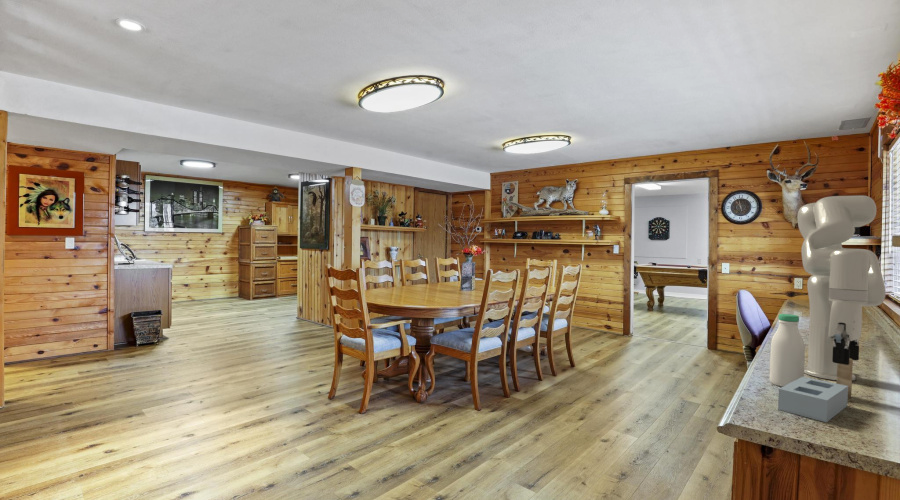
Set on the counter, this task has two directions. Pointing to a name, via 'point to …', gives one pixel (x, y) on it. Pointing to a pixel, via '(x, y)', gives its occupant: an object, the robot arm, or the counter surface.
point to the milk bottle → (787, 352)
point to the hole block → (813, 398)
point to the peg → (845, 375)
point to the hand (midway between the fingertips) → (845, 361)
